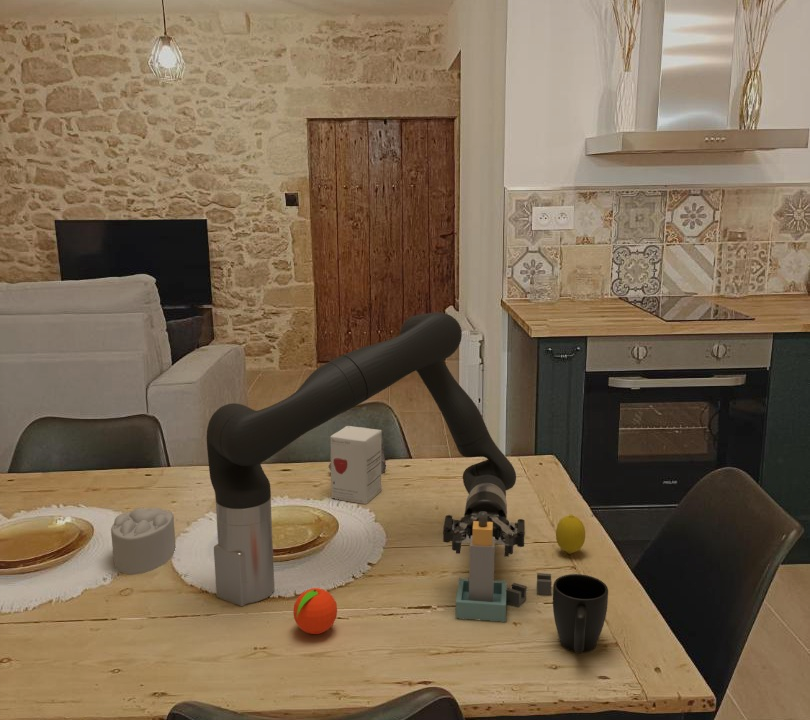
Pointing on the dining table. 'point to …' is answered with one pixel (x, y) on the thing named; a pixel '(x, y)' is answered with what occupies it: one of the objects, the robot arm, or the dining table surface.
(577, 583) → the mug
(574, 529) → the lemon
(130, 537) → the lumpy-topped squat cylinder
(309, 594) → the clementine
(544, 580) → the cable clips
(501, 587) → the box
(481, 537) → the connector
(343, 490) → the supplement box
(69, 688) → the dining table surface
